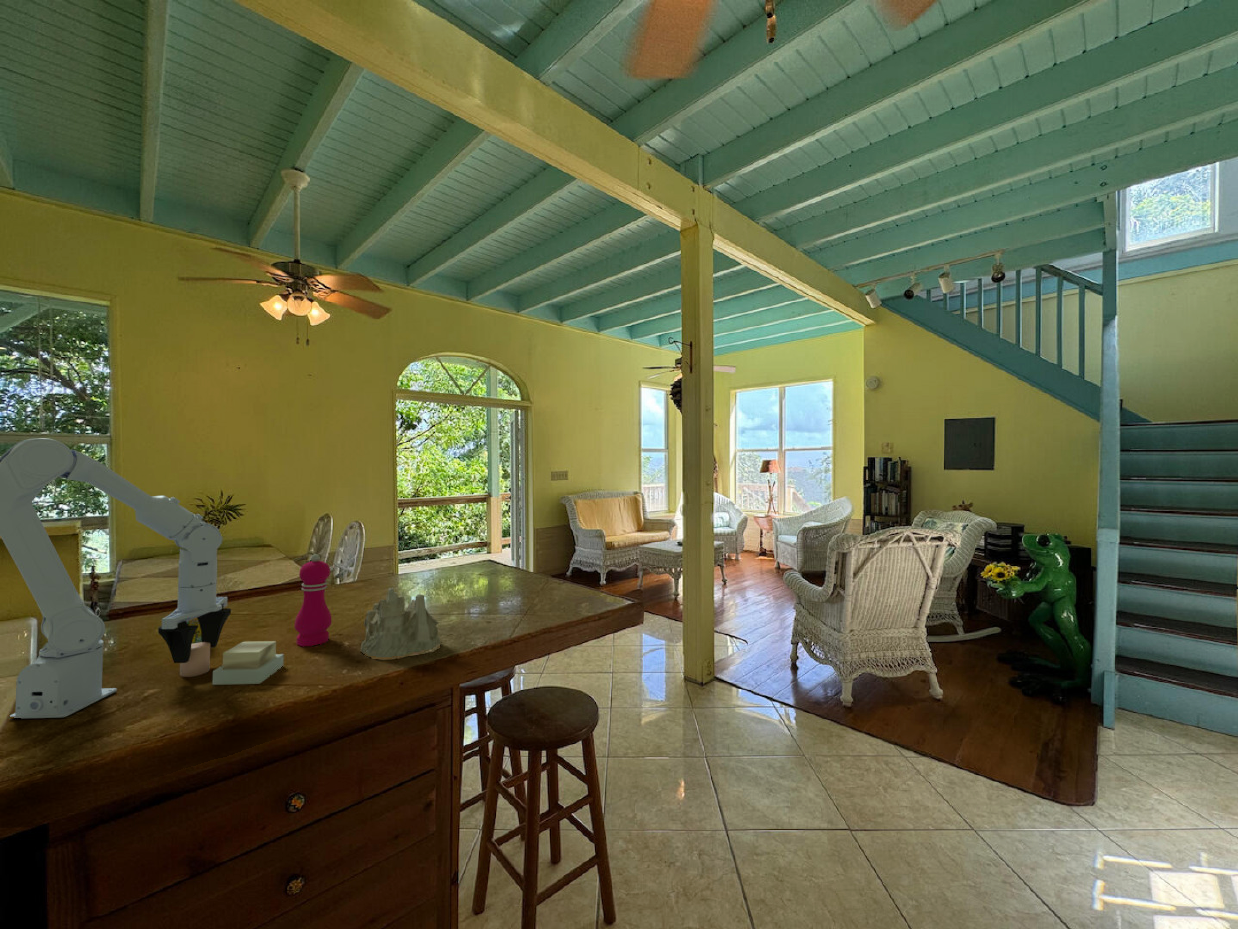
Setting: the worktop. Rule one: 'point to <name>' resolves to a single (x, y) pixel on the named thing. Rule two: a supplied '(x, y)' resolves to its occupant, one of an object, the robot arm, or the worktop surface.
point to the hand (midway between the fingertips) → (196, 654)
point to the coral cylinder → (197, 660)
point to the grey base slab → (247, 673)
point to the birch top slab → (249, 655)
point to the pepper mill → (313, 604)
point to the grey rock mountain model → (399, 627)
